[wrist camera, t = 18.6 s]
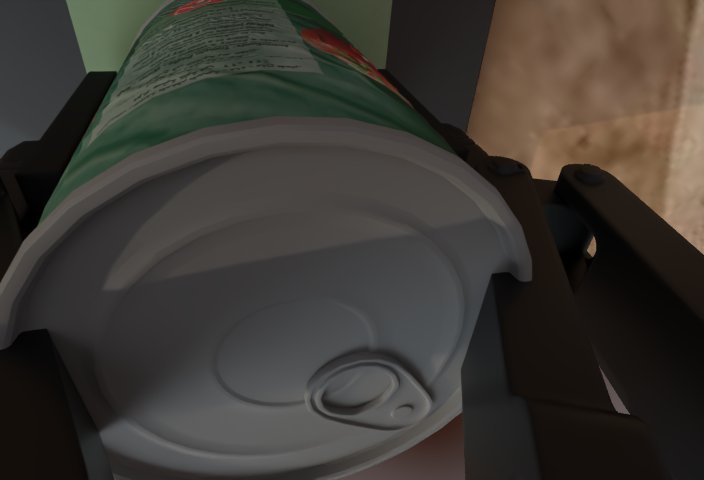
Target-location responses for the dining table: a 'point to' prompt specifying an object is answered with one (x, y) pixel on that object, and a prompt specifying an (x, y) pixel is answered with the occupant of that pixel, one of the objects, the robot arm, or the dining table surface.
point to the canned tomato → (260, 254)
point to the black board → (140, 3)
